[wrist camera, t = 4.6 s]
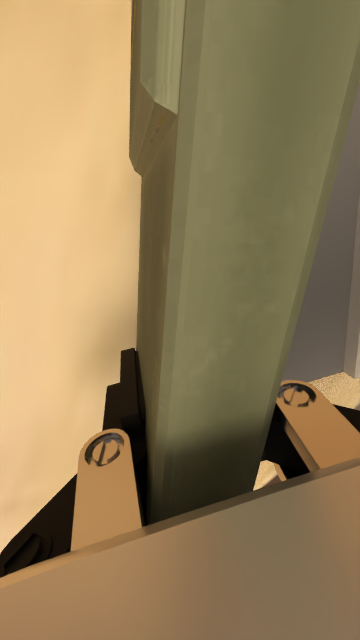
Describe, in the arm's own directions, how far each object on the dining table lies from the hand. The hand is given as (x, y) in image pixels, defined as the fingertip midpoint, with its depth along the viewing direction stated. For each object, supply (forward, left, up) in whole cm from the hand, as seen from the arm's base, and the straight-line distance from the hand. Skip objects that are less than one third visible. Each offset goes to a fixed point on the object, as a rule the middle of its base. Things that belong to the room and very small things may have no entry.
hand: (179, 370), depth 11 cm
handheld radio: (+1, 0, -1) cm, 1 cm away
